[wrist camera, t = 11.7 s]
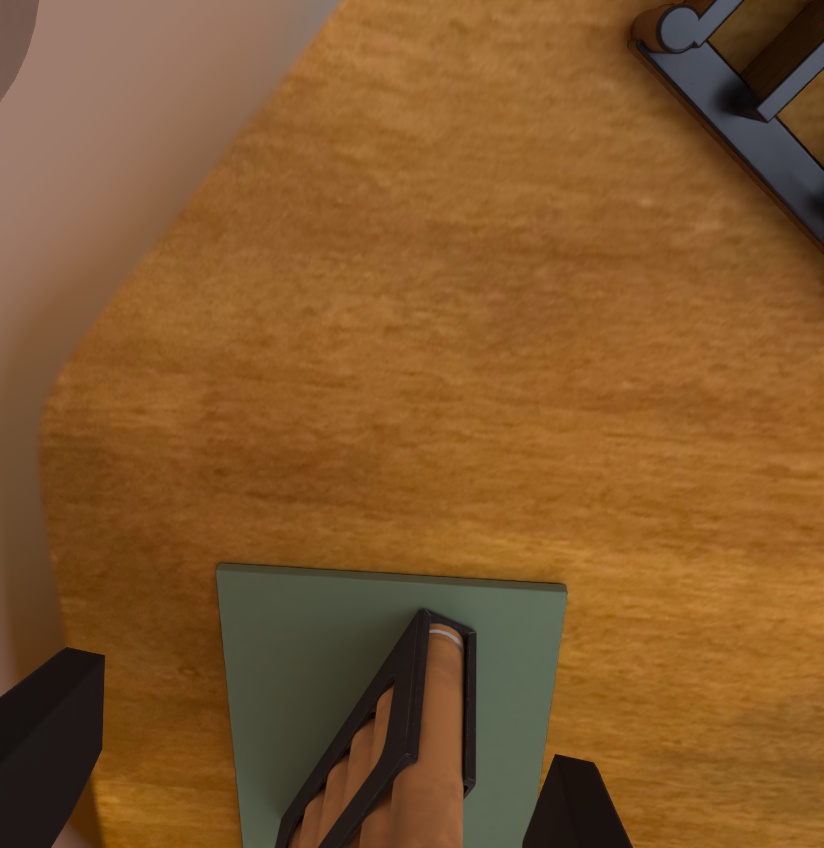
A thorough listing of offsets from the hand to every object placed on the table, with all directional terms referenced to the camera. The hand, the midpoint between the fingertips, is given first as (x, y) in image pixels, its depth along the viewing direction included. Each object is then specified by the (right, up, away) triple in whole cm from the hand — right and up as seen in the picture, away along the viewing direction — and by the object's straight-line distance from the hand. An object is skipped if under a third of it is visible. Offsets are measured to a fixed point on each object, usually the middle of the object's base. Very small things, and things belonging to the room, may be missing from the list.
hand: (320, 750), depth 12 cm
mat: (+1, -5, +13) cm, 14 cm away
